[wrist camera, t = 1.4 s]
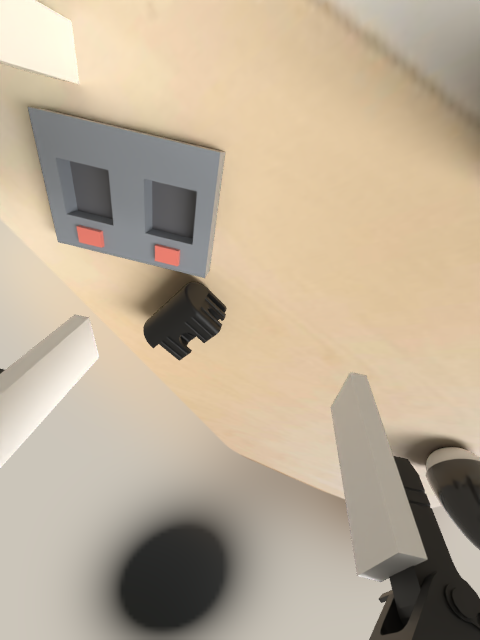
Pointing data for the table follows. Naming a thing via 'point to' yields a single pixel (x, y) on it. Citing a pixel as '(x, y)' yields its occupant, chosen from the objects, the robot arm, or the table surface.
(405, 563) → the robot arm
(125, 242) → the socket plate
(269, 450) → the table surface
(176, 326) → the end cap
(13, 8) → the plug
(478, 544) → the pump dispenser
